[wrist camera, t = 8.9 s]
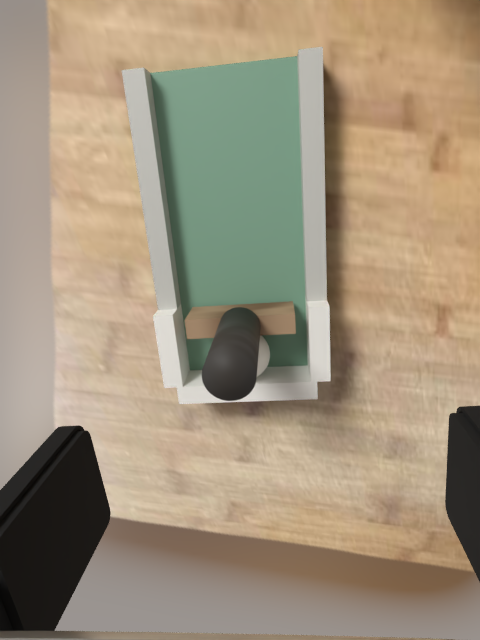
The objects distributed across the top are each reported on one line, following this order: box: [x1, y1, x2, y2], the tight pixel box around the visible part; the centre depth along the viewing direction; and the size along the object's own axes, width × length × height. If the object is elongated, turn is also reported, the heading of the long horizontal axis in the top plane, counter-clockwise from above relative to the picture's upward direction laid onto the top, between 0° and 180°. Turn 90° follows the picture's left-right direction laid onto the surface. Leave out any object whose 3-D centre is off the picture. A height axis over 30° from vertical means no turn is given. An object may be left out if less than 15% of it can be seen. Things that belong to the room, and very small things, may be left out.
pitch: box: [122, 47, 331, 404], centre depth 31 cm, size 13×24×4 cm, turn 5°
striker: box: [185, 301, 296, 401], centre depth 28 cm, size 8×3×11 cm, turn 94°
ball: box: [257, 335, 270, 376], centre depth 33 cm, size 4×4×4 cm
